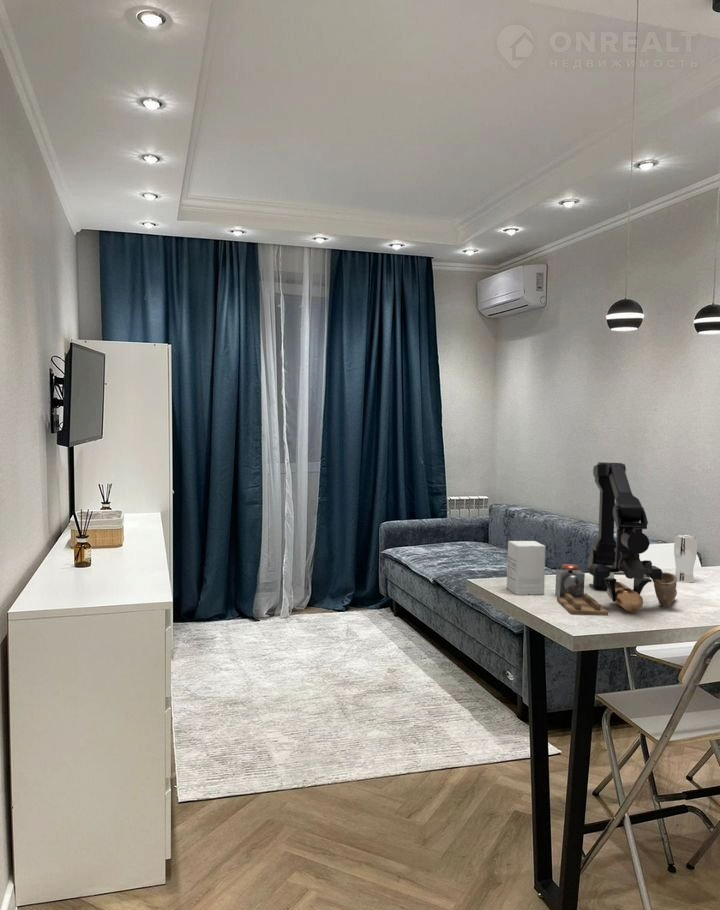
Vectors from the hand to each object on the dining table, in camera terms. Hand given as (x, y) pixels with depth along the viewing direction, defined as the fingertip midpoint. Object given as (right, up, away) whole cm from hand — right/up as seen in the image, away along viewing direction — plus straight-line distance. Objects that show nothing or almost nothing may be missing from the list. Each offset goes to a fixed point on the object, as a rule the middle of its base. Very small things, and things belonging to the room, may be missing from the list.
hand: (624, 601), depth 195 cm
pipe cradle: (-12, -2, 0) cm, 12 cm away
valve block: (-12, -1, +12) cm, 17 cm away
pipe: (+15, -2, +6) cm, 16 cm away
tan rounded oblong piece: (0, -1, 0) cm, 1 cm away
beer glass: (+34, -1, +38) cm, 51 cm away
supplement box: (-24, -1, +17) cm, 29 cm away
